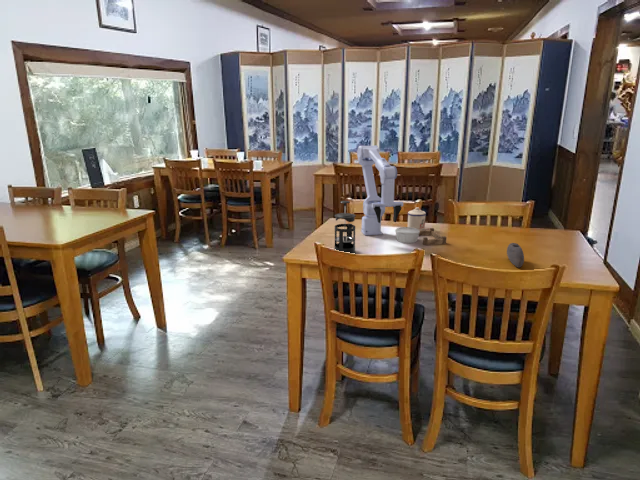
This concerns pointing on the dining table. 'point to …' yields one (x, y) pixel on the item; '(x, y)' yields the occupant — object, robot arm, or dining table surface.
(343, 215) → the french press
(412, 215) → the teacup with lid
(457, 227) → the dining table surface
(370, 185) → the robot arm
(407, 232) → the ramekin
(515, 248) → the perforated stone tool
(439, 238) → the walnut cradle
